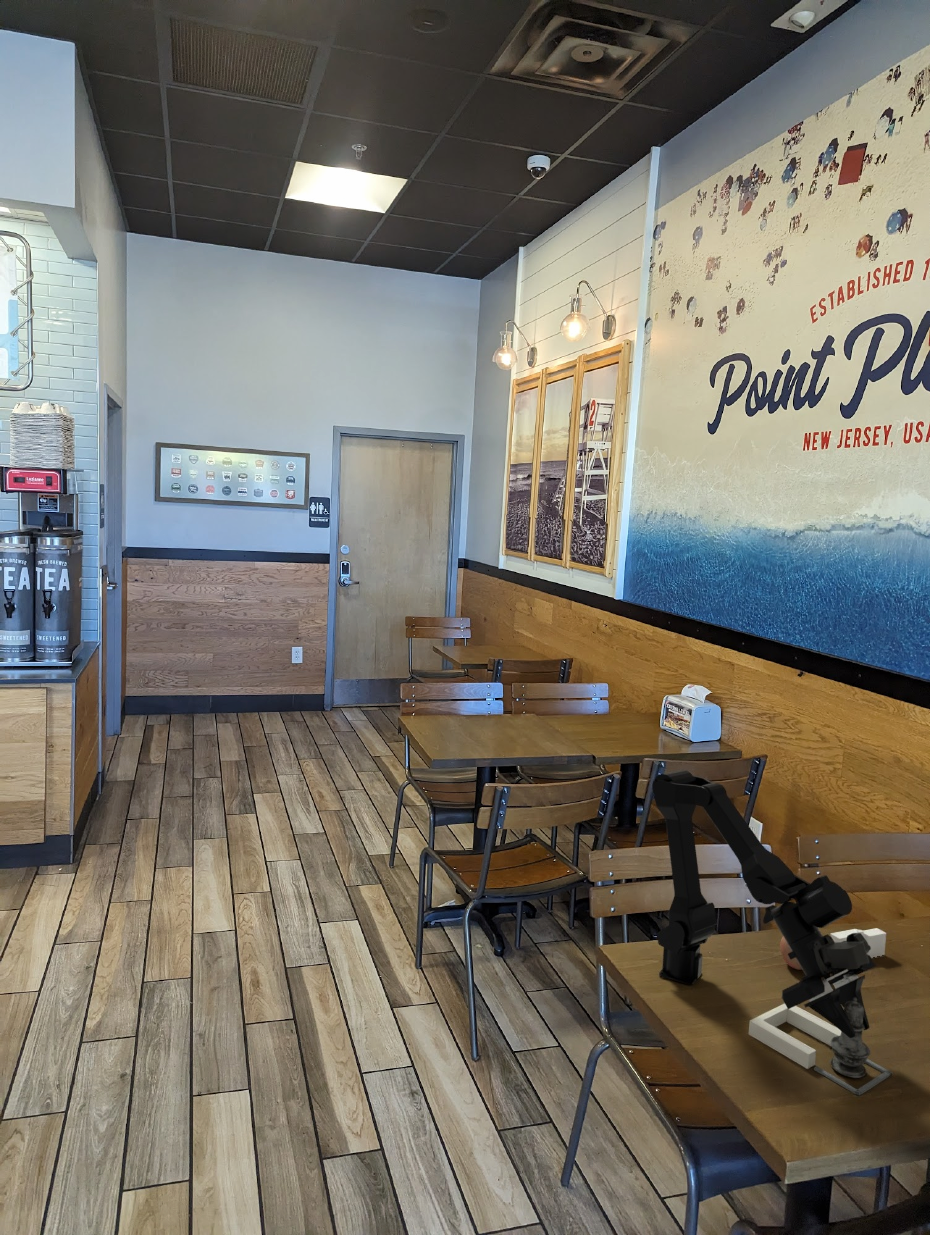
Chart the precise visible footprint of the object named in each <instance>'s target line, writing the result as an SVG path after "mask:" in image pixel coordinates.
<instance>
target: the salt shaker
mask: <svg viewBox="0 0 930 1235" xmlns="http://www.w3.org/2000/svg"><path fill="white" fill-rule="evenodd" d="M864 1008H865V1007H864ZM864 1008H863V1006H862V1005H861V1004H860V1003H858V1002H857V998H856V997H854V998H853V1001H847V1002H846V1003H845V1005H844V1007H843V1009H844V1011H845V1013H846V1015H847V1017H848V1019H849V1021H850V1023H851V1025H852V1027H853V1029H854V1032H855V1034H856V1036H855V1037H853V1038H849V1037H848V1036H847V1035H846V1034H844V1033H843V1032H842V1031H841V1035H840V1036H835V1037H833V1038H832V1039H831V1041H830V1042H831V1046H832V1047H831V1046H830V1047H831V1049H832V1053H833V1058H831V1059H830V1066H831V1067H832V1069H833V1070H834V1071H835V1072H837V1073H839V1074H841V1075H843V1076H845V1077H849V1078H853V1079H858V1078H860V1079H861V1078H863V1077H865V1076H866V1073H867V1069H866V1067H865V1066H864V1064H866V1063H865V1061H866V1060H867V1059H869V1058H868V1057H869V1056H870V1055H871V1049H870V1048H869V1046H868V1045H867V1044H866V1043H865V1042H863V1041H862V1040H863V1031H865V1030H864V1029H865V1026H864V1024H863V1015H864Z"/></svg>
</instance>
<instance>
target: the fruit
mask: <svg viewBox="0 0 930 1235" xmlns="http://www.w3.org/2000/svg"><path fill="white" fill-rule="evenodd" d="M779 946H780V947H779V948H780V953H781V955H782V958H783V960H784V961H785V963H786V964H787V965H788V966H789V967H791V968H792V969H795V970H798V971H799V970H802V968H801V966H800V964H799V963H798V961H797V959H796V958H794V959H790V958H789V956H788V953H790V952H792V951H791V949H790V947H789V945H788V944H787V942H786V940H785V938H784V937H783V936H782V937H781V940H780V945H779Z"/></svg>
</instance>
